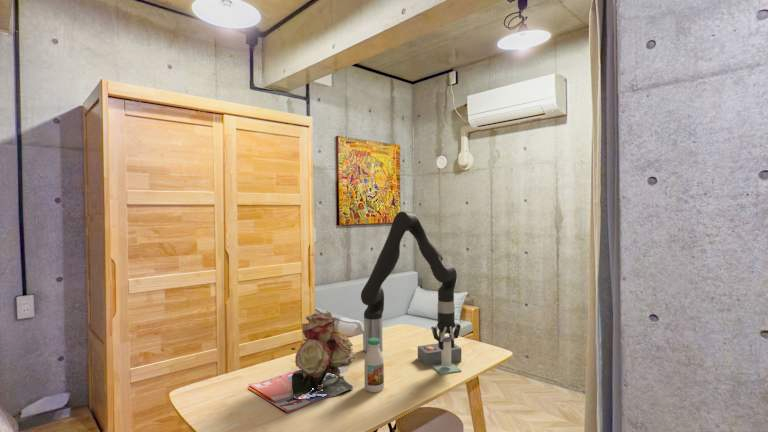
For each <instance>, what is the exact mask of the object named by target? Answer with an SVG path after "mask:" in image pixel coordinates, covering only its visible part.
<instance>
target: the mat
mask: <svg viewBox="0 0 768 432" xmlns="http://www.w3.org/2000/svg"><path fill="white" fill-rule="evenodd" d="M431 368H432V369H434V371H436V372H437V373H438V374H439V375H440V376H443V375H448V374H454V373H455V374H456V373H461V372H462V369H461V368H459V367H458V366H457V365H456V364H454V362H452V363H451V366H448V367H446V366H442V365H441V364H439V365H432V366H431Z"/></svg>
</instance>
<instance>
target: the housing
mask: <svg viewBox="0 0 768 432" xmlns="http://www.w3.org/2000/svg"><path fill="white" fill-rule="evenodd" d="M428 346H431V347H434V350H430V351H427V350H425V348H426V347H428ZM417 360H419V361H420V362H421V363H422V364H423V365H425V367H432V366H433V365H440V364H441V349H440V348H439V347H438V343H432V344H431V343H430V344H425V345H424V344H423V345H418V346H417ZM457 362H462V347H460V346H459V345H457V344H455V343H454V347H453V348H451V363H457Z"/></svg>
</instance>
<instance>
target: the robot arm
mask: <svg viewBox="0 0 768 432" xmlns="http://www.w3.org/2000/svg"><path fill="white" fill-rule="evenodd" d="M406 232H409V233H410V234H411V235H412V236H413V238H415V240H416V242H417V245H418V249H419V251H420V253H421V256H422V257H423V259H425V261H426V262H427V264H428V265H429V268H430V270H431V272H432V274H433V276H434V278H435V279H436V281H438V282H439V283H441V286H440V287H438V290H437V298H438V299H437V305H436V306H437V324H436V325H435V326H431V327H430V328H431V333H432V336H433V339H434V340H436V341H437V342H438V347H439V348H440V349H441V350H443V337H444V336H445V334H447V335H448V337H451V348H453V347H454V344H455V339H458V338H459V335H460V332H461V328H462V326H461V325H460V324H459V323H455V320H456V319H455V318H456V317H455V312H456V311H455V287H456V284H457V277H458V276H457V275H458V274H457V270H456V268H455V267H454V266H453V265H451V264H450V265H449V264H447V265H444V264H443V262H442V261H443V259H444V258H443V256H442V254H441V252H440V251H439V250H438V248H436V246H435V244H433V242H432V240H431V239H430V237H429V236H428V234H427V232H426V231H425V228H424V226H423V225H422V223H421V221H420V220H419V218H418V216H417V215H416V213H414V212H412V211H399V212H397V213H396V214H395V215H394V218H393V221H392V224H391V227H390V230H389V233H388V236H387V238H386V240H385V242H384V244H383V245H384V246H383V247H382V250H381V251H380V253H379V255H378V257H377V260H376V263H375V265H374V266H373V269H372V272H371V274H370V276H369V278H368V280H367V282H366V283H365V285H364V286H363V289H362V290H361V292H360V300H361V302H362V304H363V305H366V306H367V307H366V309H364V311H363V328H364V329H363V332H362V348H363V349H362V350H363V352H365V355H366V354H367V351H368V348H369V345H368V339H370V338H378V339H379V341H380V343H379V344H380V345H379V349H380V351H381V353H382V352H383V350H384V347H383V313H384V310H385V309H384V308H385V294H384V293H385V292H384V290H383V287H382V285H383V283H384V282H385V280H387V278H388V277H389V276H390V275H391V274H392V272H393V270H394V269H395V267H396V265H397V263H398V261H399V259H400V255H401V252H400V251H401V249H400V248H401V242H402V239H403V237H404V235H405V233H406ZM453 330H454V331H453Z"/></svg>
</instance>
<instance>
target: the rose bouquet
mask: <svg viewBox="0 0 768 432" xmlns="http://www.w3.org/2000/svg"><path fill="white" fill-rule="evenodd" d="M332 315H333V314H332V312H330V311H328V310H327V311H325V312H320V313H312V314H311V315H306V316H305V320H307V321H308V323H302V325H301V329H302V334H303V335H304V338H305V339H304V338H303V339H302V341H303V343H302V344H301V345H300V347H299V349H298V351H297V352H296V354H295V360H294V363H295V367H297V368H299V369H300V370H299V372H292V375H291V392H292V391H293V394H292V396H293V398H294V396H295V397H299V396H301V395H302V394H306V393H308V392H310V391H311V390H312V388H314V389H317V388H318V385H321V386H322V385H323V386H322V387H321V389H323V391H320V392H317V394H327V395H326V396H324V397H322V398H324V399H327V398H332V397H336V396H338V395H340V394H341V393H344V392H346V391H349V390H350V391H353V390H354V389H353V388H354V387H353V385H352V384H350V383H349V382H347V381H346V380H345V378H344V376H343V375H341V369H340V368H341V367H344V368H345V367H349V366H350V365H351V364H352V362H353V359H356V357H355V356H353V354H354V352H353V350H354V348H353V345H354V344H352V342H351V340H350V339H349V338H348V337H346V336H344V335H343V334H341V333H339V334H336V333H334V332H335V331H336V328H335V321H336V320H337V319H336V318H335V317H333V316H332ZM290 350H292V351H295V350H296V348H295V347H292V348H290ZM327 373H331V374H334V375H333V376H332V377H328V378H326V379H325V380H323V379H324V377H325V376H326V374H327ZM317 390H318V389H317Z"/></svg>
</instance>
